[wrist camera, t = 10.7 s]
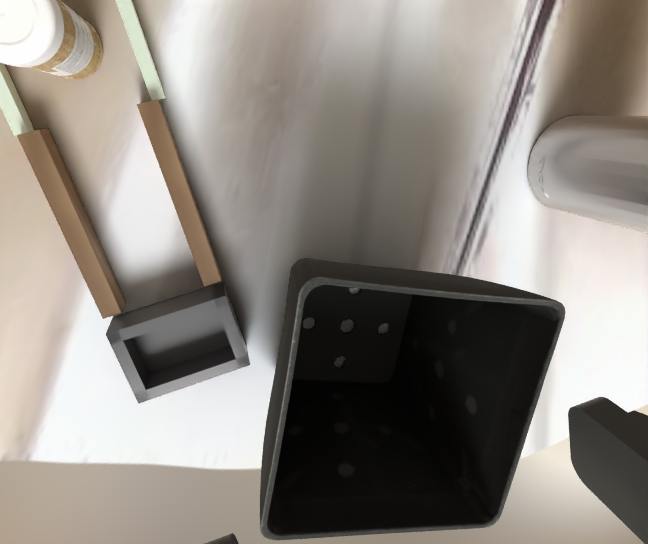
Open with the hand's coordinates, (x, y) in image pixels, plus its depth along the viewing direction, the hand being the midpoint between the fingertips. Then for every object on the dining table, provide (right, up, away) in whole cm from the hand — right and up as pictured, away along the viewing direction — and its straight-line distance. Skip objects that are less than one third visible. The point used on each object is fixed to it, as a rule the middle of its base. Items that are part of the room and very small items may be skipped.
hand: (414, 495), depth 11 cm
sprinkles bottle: (-21, +22, +24) cm, 38 cm away
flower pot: (0, 0, +37) cm, 37 cm away
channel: (-18, +10, +29) cm, 35 cm away
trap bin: (-15, -1, +33) cm, 36 cm away
